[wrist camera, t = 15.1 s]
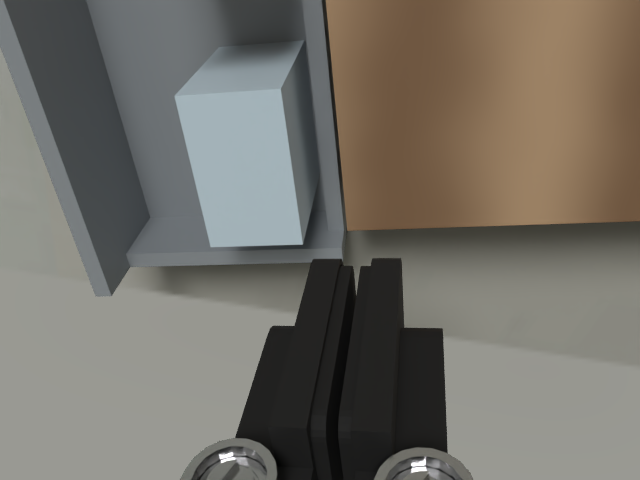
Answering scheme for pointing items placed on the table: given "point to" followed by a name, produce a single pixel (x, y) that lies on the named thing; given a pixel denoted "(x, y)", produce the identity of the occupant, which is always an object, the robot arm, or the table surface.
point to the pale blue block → (252, 143)
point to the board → (487, 111)
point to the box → (154, 122)
